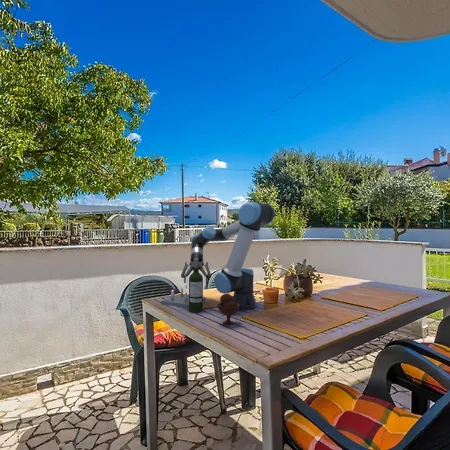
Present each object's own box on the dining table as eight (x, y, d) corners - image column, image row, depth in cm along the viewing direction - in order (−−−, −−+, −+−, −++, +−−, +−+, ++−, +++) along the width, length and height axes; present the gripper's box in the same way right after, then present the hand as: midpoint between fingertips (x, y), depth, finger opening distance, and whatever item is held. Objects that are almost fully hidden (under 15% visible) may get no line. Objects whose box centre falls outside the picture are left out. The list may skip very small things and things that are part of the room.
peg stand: (205, 300, 188) (205, 288, 188) (188, 308, 170) (188, 294, 170) (180, 297, 196) (180, 285, 197) (161, 303, 179) (161, 290, 179)
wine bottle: (191, 313, 159) (191, 258, 159) (187, 309, 166) (187, 257, 166) (204, 312, 162) (205, 258, 162) (200, 308, 169) (200, 257, 170)
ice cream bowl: (237, 328, 136) (238, 296, 136) (214, 326, 138) (215, 295, 138) (241, 321, 146) (241, 291, 147) (219, 319, 149) (219, 290, 149)
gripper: (215, 260, 180) (215, 291, 164) (178, 260, 179) (175, 291, 163) (215, 252, 175) (215, 283, 159) (178, 252, 174) (174, 283, 158)
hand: (195, 287), depth 161 cm, fingers open, 10 cm apart
